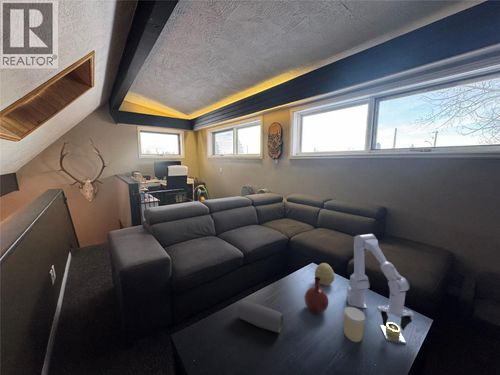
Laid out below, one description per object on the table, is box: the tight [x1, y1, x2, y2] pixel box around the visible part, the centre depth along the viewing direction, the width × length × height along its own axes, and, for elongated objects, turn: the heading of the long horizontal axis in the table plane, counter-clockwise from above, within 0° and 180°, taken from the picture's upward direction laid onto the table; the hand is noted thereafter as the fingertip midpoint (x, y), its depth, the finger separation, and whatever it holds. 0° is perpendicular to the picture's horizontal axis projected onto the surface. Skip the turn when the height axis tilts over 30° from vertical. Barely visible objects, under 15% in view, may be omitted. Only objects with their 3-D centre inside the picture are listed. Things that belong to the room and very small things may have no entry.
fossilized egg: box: [314, 262, 335, 286], centre depth 137 cm, size 13×13×15 cm
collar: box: [385, 321, 401, 338], centre depth 98 cm, size 5×5×4 cm
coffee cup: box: [343, 306, 367, 343], centre depth 97 cm, size 9×9×12 cm
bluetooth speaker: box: [237, 300, 284, 334], centre depth 104 cm, size 23×9×10 cm, turn 65°
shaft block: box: [379, 324, 407, 345], centre depth 98 cm, size 8×8×4 cm
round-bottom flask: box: [304, 277, 330, 314], centre depth 113 cm, size 13×13×20 cm
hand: (393, 326), depth 97 cm, fingers open, 7 cm apart
